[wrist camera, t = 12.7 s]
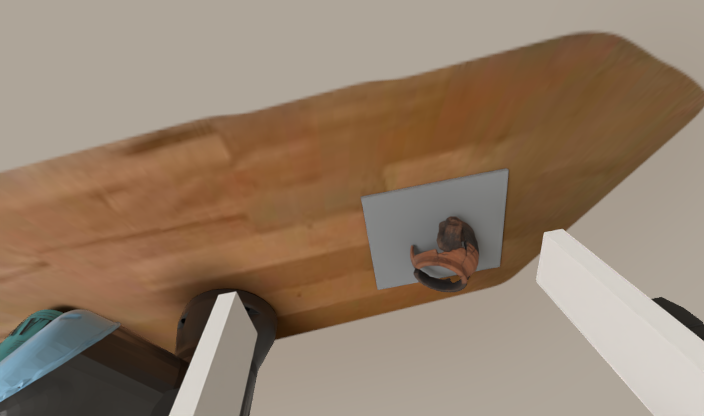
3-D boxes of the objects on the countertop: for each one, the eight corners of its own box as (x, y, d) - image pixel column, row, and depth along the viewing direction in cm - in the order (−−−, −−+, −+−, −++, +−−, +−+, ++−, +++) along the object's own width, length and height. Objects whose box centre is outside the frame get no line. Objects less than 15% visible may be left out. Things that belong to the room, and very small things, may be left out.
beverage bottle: (88, 307, 47) (-53, 468, 29) (83, 334, 49) (-49, 496, 32) (38, 295, 45) (-145, 459, 27) (35, 324, 47) (-132, 490, 30)
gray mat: (377, 287, 49) (377, 289, 49) (360, 196, 41) (361, 198, 40) (497, 264, 49) (499, 266, 49) (506, 168, 41) (508, 170, 40)
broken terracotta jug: (477, 254, 48) (473, 302, 42) (416, 245, 51) (406, 287, 46) (487, 200, 39) (483, 251, 34) (414, 193, 43) (401, 238, 37)
